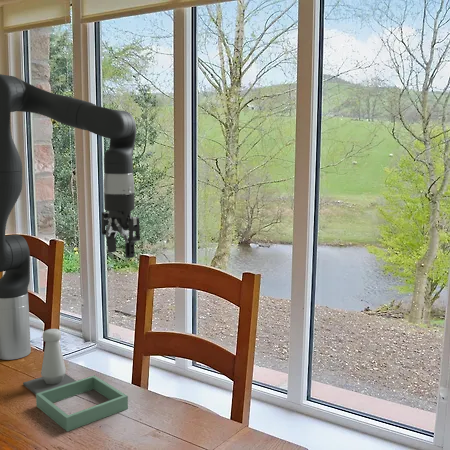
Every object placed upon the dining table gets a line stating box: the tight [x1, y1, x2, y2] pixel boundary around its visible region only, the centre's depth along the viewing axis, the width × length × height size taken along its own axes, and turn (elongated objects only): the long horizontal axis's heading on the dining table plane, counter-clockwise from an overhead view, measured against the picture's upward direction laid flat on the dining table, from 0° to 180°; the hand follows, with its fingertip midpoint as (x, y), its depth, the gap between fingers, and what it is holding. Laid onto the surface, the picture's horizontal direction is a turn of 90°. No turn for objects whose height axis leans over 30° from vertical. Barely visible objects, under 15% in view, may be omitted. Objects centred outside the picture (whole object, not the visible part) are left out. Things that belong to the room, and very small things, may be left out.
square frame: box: [35, 375, 129, 432], centre depth 123 cm, size 15×15×3 cm
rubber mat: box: [22, 373, 77, 396], centre depth 134 cm, size 10×10×1 cm
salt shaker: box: [40, 328, 67, 385], centre depth 134 cm, size 6×6×13 cm
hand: (120, 254), depth 141 cm, fingers open, 8 cm apart
